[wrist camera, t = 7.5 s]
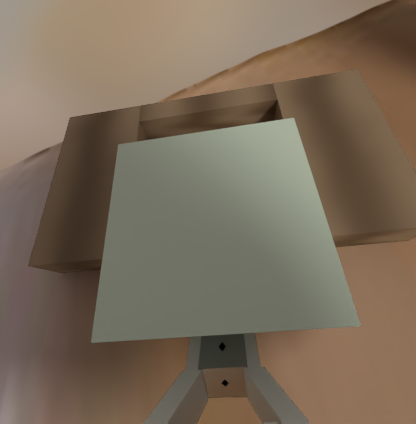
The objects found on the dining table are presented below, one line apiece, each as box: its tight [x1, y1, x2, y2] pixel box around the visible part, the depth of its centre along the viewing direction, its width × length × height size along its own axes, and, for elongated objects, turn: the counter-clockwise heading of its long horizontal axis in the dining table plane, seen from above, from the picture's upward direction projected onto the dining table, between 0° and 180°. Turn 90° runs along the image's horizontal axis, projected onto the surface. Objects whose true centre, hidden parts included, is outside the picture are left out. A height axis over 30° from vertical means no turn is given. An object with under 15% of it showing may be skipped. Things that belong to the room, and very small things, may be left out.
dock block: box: [28, 69, 416, 273], centre depth 18 cm, size 26×14×3 cm, turn 94°
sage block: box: [91, 118, 361, 343], centre depth 13 cm, size 9×9×8 cm
